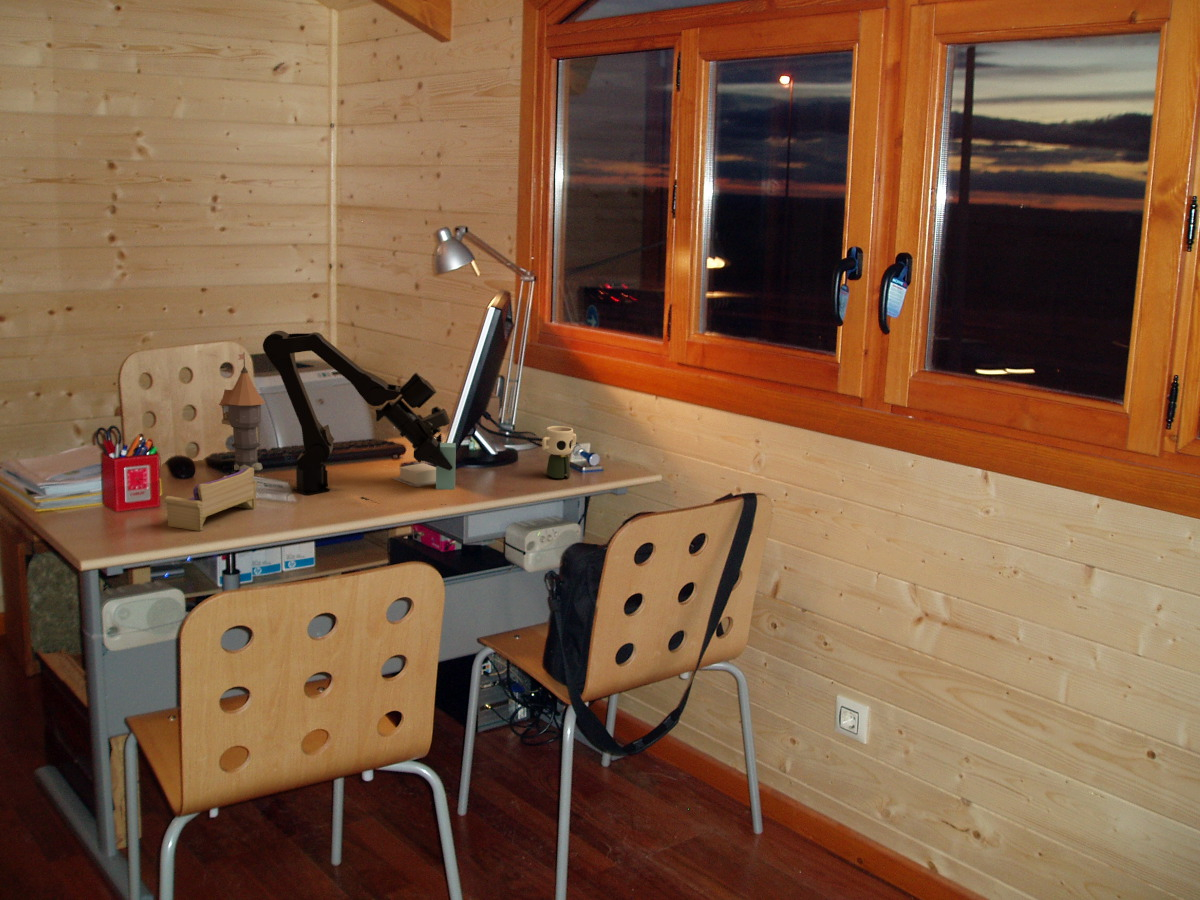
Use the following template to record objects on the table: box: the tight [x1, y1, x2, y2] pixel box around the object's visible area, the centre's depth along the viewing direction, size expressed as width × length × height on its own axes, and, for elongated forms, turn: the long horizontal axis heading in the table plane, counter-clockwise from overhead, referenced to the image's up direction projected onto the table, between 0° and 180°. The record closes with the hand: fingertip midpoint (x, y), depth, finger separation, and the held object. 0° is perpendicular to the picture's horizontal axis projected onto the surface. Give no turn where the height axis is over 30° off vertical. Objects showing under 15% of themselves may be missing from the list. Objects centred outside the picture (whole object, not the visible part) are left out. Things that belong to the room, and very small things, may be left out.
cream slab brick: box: [399, 462, 436, 485], centre depth 280 cm, size 7×7×3 cm
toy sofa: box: [164, 467, 258, 532], centre depth 247 cm, size 21×9×10 cm, turn 161°
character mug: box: [541, 425, 577, 479], centre depth 294 cm, size 11×7×13 cm, turn 130°
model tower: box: [218, 352, 266, 472], centre depth 287 cm, size 10×11×30 cm
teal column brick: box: [435, 442, 457, 491], centre depth 274 cm, size 4×4×12 cm
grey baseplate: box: [391, 476, 436, 488], centre depth 281 cm, size 10×10×2 cm
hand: (451, 466), depth 274 cm, fingers closed on teal column brick, 4 cm apart
